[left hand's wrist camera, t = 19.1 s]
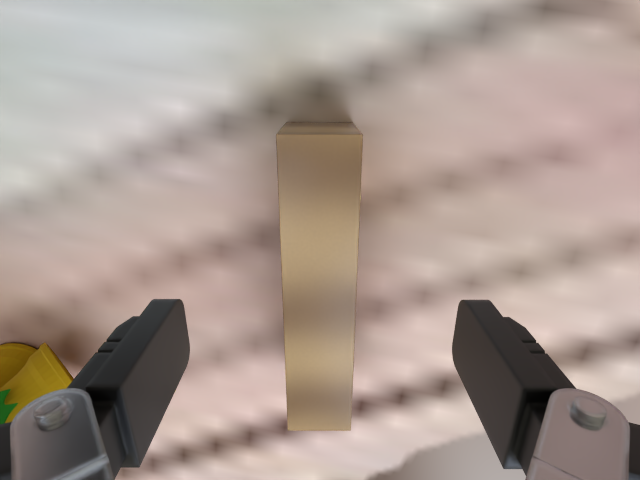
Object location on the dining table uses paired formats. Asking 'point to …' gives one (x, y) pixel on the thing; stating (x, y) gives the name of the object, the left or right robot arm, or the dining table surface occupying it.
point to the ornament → (28, 377)
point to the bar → (319, 268)
